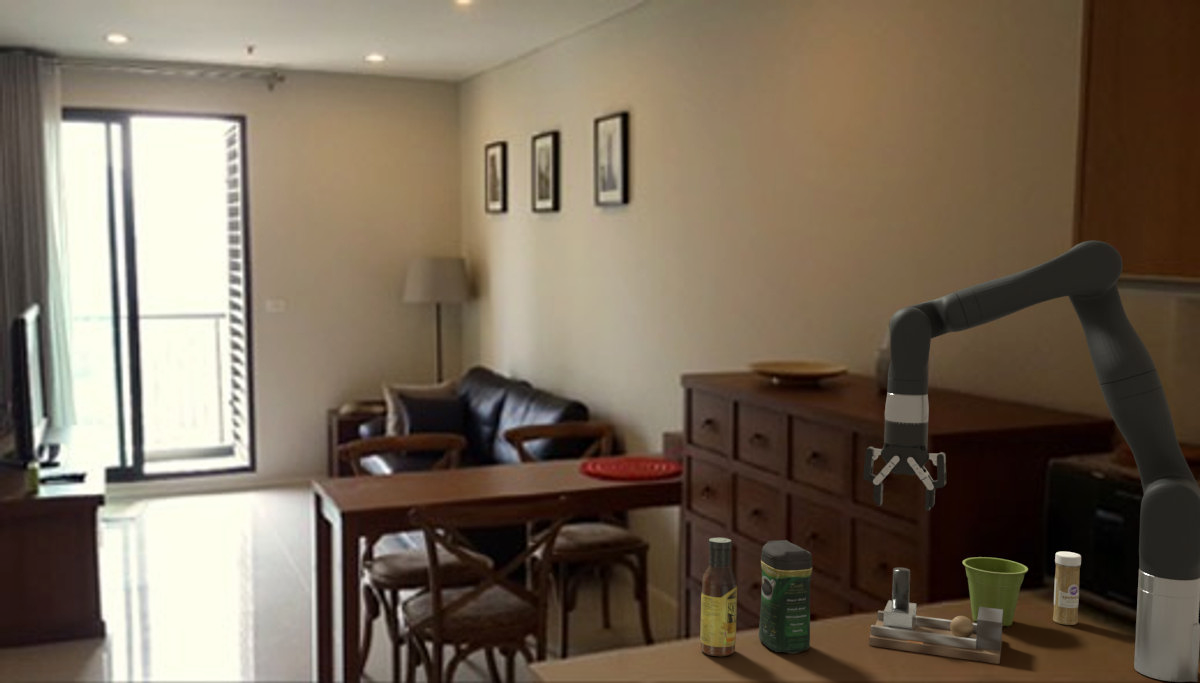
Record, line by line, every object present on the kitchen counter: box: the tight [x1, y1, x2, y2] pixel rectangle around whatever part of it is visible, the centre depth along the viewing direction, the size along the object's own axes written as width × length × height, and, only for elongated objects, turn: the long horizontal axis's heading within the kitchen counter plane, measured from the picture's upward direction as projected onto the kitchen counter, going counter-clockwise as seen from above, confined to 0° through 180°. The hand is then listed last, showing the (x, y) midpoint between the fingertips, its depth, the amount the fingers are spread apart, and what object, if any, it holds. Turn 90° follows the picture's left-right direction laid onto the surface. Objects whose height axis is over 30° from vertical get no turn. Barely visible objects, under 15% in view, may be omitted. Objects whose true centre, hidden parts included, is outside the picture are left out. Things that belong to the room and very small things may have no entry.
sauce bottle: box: [699, 537, 738, 657], centre depth 189 cm, size 7×6×20 cm
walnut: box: [950, 615, 974, 638], centre depth 194 cm, size 4×4×4 cm
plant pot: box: [962, 556, 1029, 627], centre depth 207 cm, size 12×12×11 cm
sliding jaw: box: [883, 567, 917, 631], centre depth 197 cm, size 5×7×11 cm
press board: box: [868, 607, 1003, 665], centre depth 195 cm, size 22×13×6 cm, turn 68°
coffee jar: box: [758, 539, 813, 654], centre depth 192 cm, size 10×8×19 cm
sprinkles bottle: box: [1052, 550, 1082, 626], centre depth 208 cm, size 5×5×14 cm
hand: (903, 507), depth 195 cm, fingers open, 8 cm apart
